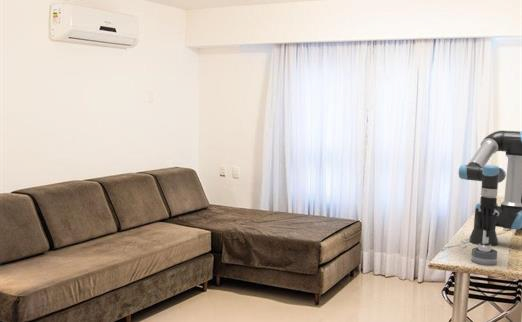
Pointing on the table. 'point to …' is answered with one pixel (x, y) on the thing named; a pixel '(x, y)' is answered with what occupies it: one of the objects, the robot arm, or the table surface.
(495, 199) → the robot arm
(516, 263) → the table surface
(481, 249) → the cap
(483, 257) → the grey short cylinder
